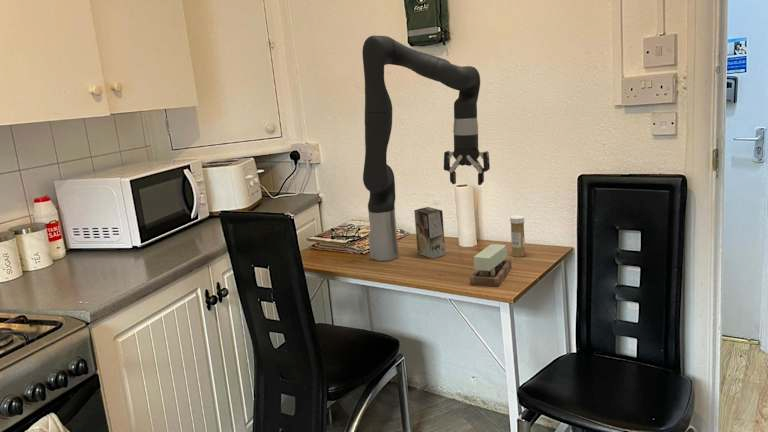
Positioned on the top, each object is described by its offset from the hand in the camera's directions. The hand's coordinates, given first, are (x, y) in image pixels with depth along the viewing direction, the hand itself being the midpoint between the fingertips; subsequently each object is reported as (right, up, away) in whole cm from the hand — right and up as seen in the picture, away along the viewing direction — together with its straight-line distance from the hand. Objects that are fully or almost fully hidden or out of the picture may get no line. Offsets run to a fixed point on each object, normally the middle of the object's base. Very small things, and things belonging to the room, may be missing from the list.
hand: (466, 184), depth 195 cm
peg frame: (+7, -28, -4) cm, 30 cm away
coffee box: (-9, -24, +23) cm, 34 cm away
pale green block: (+7, -25, -5) cm, 26 cm away
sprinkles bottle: (+19, -23, +14) cm, 33 cm away
